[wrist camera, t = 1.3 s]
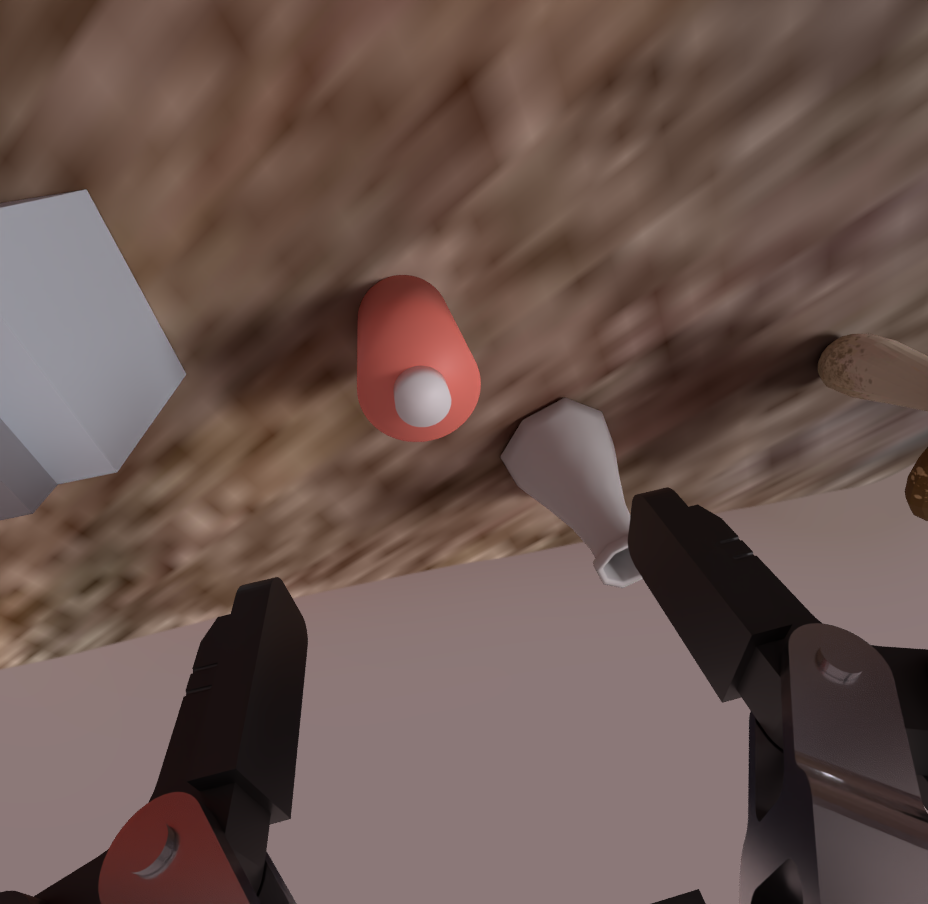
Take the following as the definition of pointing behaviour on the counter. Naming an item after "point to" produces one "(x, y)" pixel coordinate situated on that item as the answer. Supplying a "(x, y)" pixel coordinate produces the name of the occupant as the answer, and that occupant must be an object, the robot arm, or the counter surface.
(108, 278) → the grey box device
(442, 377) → the pink cylinder white tip
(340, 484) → the counter surface
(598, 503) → the flask
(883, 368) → the mushroom
